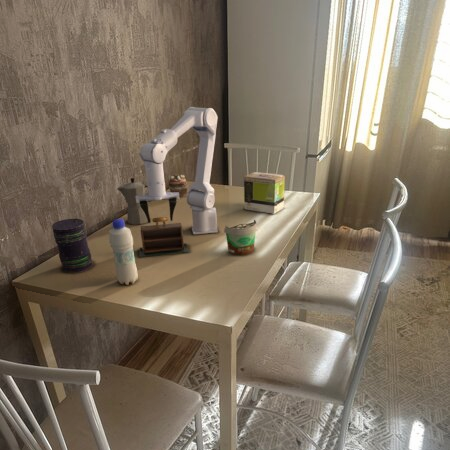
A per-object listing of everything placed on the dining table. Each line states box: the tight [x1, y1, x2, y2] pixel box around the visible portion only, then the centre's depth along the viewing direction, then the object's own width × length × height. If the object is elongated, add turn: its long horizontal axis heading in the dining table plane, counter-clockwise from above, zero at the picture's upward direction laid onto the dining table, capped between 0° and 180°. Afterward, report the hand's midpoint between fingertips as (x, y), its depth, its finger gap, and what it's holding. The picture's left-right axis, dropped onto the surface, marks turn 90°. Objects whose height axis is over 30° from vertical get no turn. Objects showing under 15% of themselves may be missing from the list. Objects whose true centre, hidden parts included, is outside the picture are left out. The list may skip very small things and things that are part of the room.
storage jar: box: [51, 218, 94, 274], centre depth 134 cm, size 10×10×15 cm
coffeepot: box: [116, 177, 152, 225], centre depth 170 cm, size 15×9×18 cm, turn 113°
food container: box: [223, 219, 259, 256], centre depth 141 cm, size 12×6×10 cm, turn 117°
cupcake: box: [168, 173, 189, 198], centre depth 203 cm, size 10×10×10 cm
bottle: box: [108, 218, 139, 286], centre depth 123 cm, size 7×7×20 cm
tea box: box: [243, 171, 286, 215], centre depth 179 cm, size 15×10×15 cm
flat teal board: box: [138, 242, 190, 258], centre depth 147 cm, size 7×17×1 cm, turn 100°
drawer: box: [140, 216, 184, 253], centre depth 144 cm, size 5×14×11 cm, turn 100°
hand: (160, 220), depth 144 cm, fingers open, 7 cm apart
